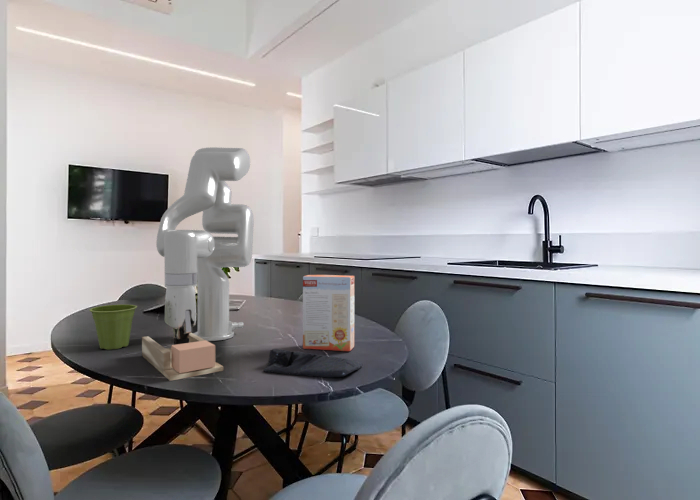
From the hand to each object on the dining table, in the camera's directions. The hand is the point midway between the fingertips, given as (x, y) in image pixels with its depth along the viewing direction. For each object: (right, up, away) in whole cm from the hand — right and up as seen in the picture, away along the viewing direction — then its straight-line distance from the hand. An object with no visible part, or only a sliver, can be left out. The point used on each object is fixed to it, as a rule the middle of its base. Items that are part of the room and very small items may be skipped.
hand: (181, 353), depth 106 cm
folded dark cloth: (+33, -3, -3) cm, 34 cm away
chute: (-1, -2, 0) cm, 2 cm away
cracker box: (+36, -3, +16) cm, 39 cm away
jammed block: (+6, -1, -7) cm, 9 cm away
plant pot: (-25, -2, +15) cm, 30 cm away
